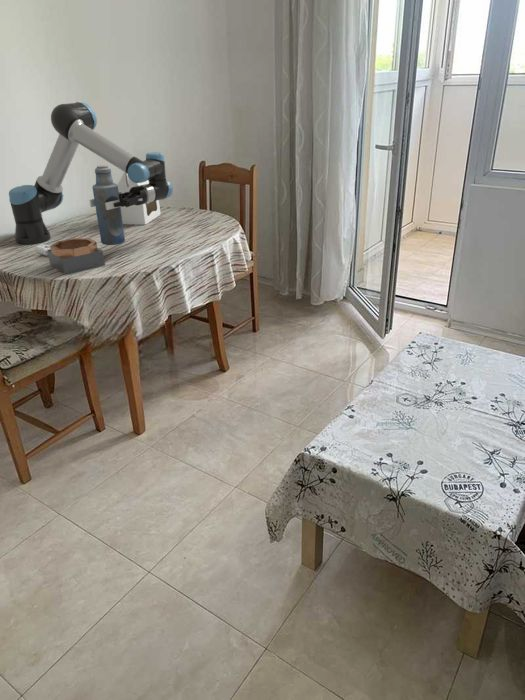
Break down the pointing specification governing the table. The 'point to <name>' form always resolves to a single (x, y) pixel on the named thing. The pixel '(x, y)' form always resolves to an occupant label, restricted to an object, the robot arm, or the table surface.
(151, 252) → the table surface
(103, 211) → the bottle
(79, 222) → the table surface
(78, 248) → the copper and grey block
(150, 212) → the gable box
